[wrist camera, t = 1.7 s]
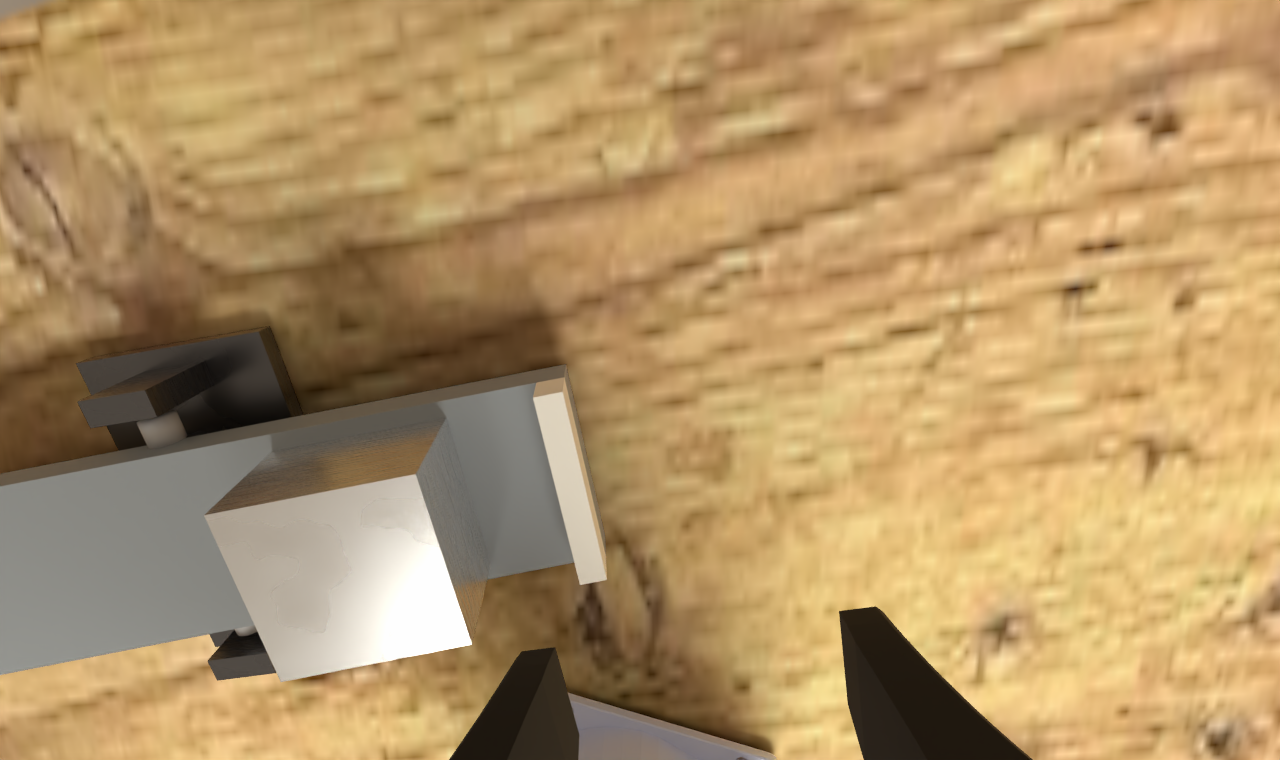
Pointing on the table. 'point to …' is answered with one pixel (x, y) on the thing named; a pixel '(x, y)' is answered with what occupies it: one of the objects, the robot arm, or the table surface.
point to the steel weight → (356, 549)
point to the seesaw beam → (215, 463)
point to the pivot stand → (196, 418)
